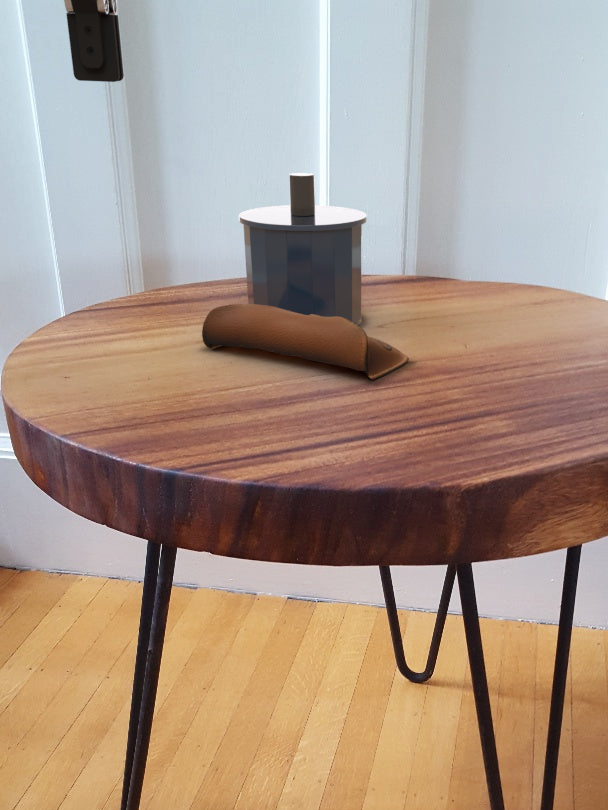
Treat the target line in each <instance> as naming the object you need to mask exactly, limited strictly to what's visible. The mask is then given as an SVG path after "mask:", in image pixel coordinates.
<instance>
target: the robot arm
mask: <svg viewBox="0 0 608 810" xmlns="http://www.w3.org/2000/svg"><path fill="white" fill-rule="evenodd" d="M63 2H64V7H65V11H66V23H67V29H68V38H69V46H70V54H71V55H70V56H71V63H72V72H73V78H75V79H76V80H77V81H79V82H80V81H82V82H104V83H105V82H106V83H107V82H109V83H115V82H121V81H123V79H124V77H125V75H124V65H123V55H122V44H121V33H120V22H119V21H120V20H119V15H118V1H117V0H63Z"/></svg>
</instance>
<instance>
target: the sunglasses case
mask: <svg viewBox="0 0 608 810" xmlns="http://www.w3.org/2000/svg"><path fill="white" fill-rule="evenodd" d="M201 337H202V342H203V344H204V346H206V347H207V348H209V349H214V348H217V347H220V346H221V347H232V348H240V347H242V348H244V349H261V350H263V351H265V352H271V353H274V354H279V355H284V356H291V357H300V358H302V359H304V360H309V361H313V362H319V363H324V364H330V365H334V366H340V367H344V368H349V369H352V370H353V371H354V370H355V371H359V372H360V371H361V372H364V374H365V376H366V377H368V378H369V379H370V380H372V381H373V380H376V379H378V378H381V377H384V376H387V375H389V374H391V373H392V372H394V371H396V370H397V369H399V368H400V367H402V366H404V365H405V364H407V363H408V361H409V357H408V355H407V354H405V353H403V352H402V351H400V350H399V349H397V348H396V347H395V346H393V345H391V344H389V343H387V342H385V341H383V340H380V339H379V338H375V337H373V336H369V335H367V332H366V331H365V329H363V328H362V327H360V325H358V326H357V325H356V324H354V323H353V322H351V321H349V320H347V319H345V318H342V317H337V316H335V317H323V316H319V315H313V314H310V315H303V314H299V313H295V312H292V311H288V310H285V309H281V308H277V307H273V306H267V305H258V304H248V303H234V304H226V305H220V306H217V307H215V308H213V309H212V310H210V311H209V312H208V314H207V315H206V317H205V319H204V320H203V324H202V330H201Z"/></svg>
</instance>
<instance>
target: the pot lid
mask: <svg viewBox="0 0 608 810" xmlns="http://www.w3.org/2000/svg"><path fill="white" fill-rule="evenodd" d="M315 179H316V177H315V174H314V173H310V172H293V173H289V175H288V180H289V181H288V182H289V204H286V205H283V204H282V205H272V206H261V207H255V208H250V209H247V210H243V211H242V212H240V213H239V214H238V222H239V223H240V224H241V225H243V224H244V225H246V226H250V227H254V228H260V229H267V230H279V231H327V230H338V229H346V228H352V227H356V226H359V225H362V226H363V225H364V224H365V223H367V221H368V216H367V213H366V212H364V211H362V210H359V209H356V208H351V207H343V206H336V205H335V206H334V205H320V204H316V187H315V185H316V182H315ZM244 225H243V226H244Z"/></svg>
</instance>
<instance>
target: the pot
mask: <svg viewBox="0 0 608 810" xmlns="http://www.w3.org/2000/svg"><path fill="white" fill-rule="evenodd" d="M242 225H243V237H244V238H243V242H244V255H245V256H244V257H245V271H246V287H247V304H258V305H267V306H273V307H277V308H281V309H285V310H288V311H292V312H295V313H299V314H303V315H310V314H313V315H319V316H323V317H335V316H337V317H342V318H345V319H347V320H349V321H351V322H353V323H354V324H356V325H357V326H360V325H361V324H362V314H363V285H362V284H363V224H362V225H359V226H356V227H352V228H346V229H338V230H327V231H279V230H267V229H260V228H254V227H250V226H246V225H244V224H242Z"/></svg>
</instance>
